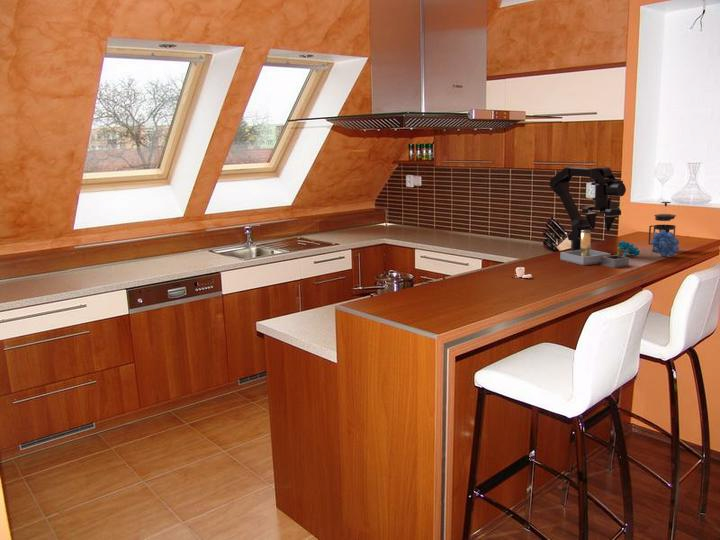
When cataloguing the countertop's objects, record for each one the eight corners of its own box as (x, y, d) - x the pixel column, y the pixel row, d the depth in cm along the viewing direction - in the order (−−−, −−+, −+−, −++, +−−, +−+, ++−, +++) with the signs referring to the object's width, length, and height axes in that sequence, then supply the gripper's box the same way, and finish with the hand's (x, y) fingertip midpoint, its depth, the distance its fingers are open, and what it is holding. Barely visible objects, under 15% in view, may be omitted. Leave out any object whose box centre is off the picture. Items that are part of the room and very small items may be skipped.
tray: (560, 259, 272) (560, 252, 272) (586, 256, 277) (587, 248, 277) (583, 265, 259) (583, 257, 258) (610, 261, 264) (611, 253, 263)
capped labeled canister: (578, 259, 269) (578, 230, 267) (585, 258, 271) (586, 229, 268) (584, 260, 266) (585, 231, 263) (592, 259, 267) (592, 230, 264)
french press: (678, 250, 281) (681, 201, 276) (672, 254, 274) (675, 203, 270) (651, 248, 289) (654, 200, 284) (645, 251, 282) (647, 202, 277)
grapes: (647, 257, 270) (648, 230, 267) (652, 254, 274) (653, 228, 272) (675, 259, 262) (677, 232, 259) (680, 257, 267) (682, 230, 264)
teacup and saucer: (534, 279, 238) (534, 269, 237) (514, 281, 238) (514, 270, 237) (527, 275, 247) (527, 265, 246) (507, 276, 246) (507, 266, 246)
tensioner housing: (601, 264, 258) (601, 256, 257) (615, 262, 261) (615, 255, 260) (614, 267, 251) (614, 259, 250) (628, 265, 254) (629, 257, 253)
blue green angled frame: (645, 253, 269) (631, 239, 266) (638, 264, 268) (624, 249, 265) (627, 253, 279) (613, 239, 277) (620, 263, 278) (606, 249, 276)
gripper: (631, 195, 266) (630, 230, 269) (601, 193, 283) (599, 226, 287) (611, 197, 262) (610, 232, 266) (581, 194, 280) (580, 228, 283)
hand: (600, 229), depth 275 cm, fingers open, 9 cm apart
